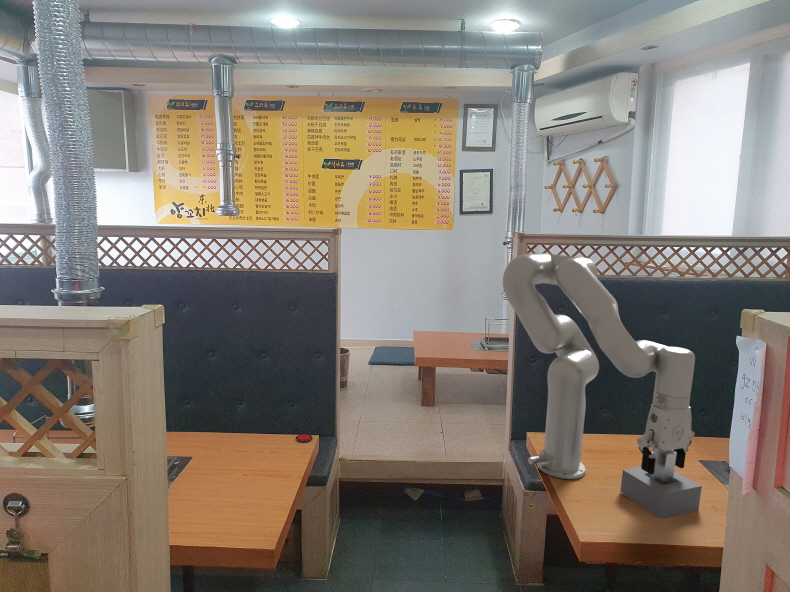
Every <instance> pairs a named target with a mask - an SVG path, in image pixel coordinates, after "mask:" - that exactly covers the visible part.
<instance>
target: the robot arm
mask: <svg viewBox="0 0 790 592" xmlns="http://www.w3.org/2000/svg"><path fill="white" fill-rule="evenodd" d="M598 271H599V270H598V267H597V266H596V264H595V263H594V261H592V260H591V259H589V258H587V257H583V256H572V255H571V256H570V255H562V254H553V253H542V252H541V253H540V252H537V253H524V254H520V255H518V256H516V257H514V258H513V259H512V260H511V261H509V263H508V264H507V266H506V268H505V270H504V272H503V276H502V288H503V292H504V295H505V297H506V299H507V301H508V302H509V304H510V306H511V307H512V309H513V310H514V312H515V314H516V315H517V317H518V319H519V321H520V322H521V325H522V326H523V328H524V329H525V331H526V332H527V334H528V336H529V338H530V340H531V341H532V344H533V346H534V347H535V348H536V349H537V350H538V351H539V352H540V353H543V354H553V353H555V354H556V356H557V357H555V359H553V361H552V362H551V363H550V365H549V367H548V368H547V369H548V371H547V405H546V406H547V407H546V408H547V409H546V419H545V420H546V421H545V429H544V430H545V432H544V440H543V441H544V442H543V449H541V450H540V451H539V454H538V455H533V456H529V457H528V458H527V462H528V463H529V465H535V464H536V466H537V468H538V469H539V470H540V471H541V472H542V473H544V474H546V475H549V476H551V477H554V478H558V479H564V480H565V479H566V480H574V479H579V478H580V479H581V478H582V477H583V476H585V475H586V466H585V465H584V464H583V462H581V457H582V455H581V454H582V446H583V436H584V426H585V425H584V424H585V418H586V417H585V416H586V405H587V403H586V386H587V384H588V383H590V382H591V381H593V380H594V379H595V378H596V377H597V375H598V373H599V370H600V363H599V362H600V361H599V360H598V357H597V355H596V353H595V351H594V350H593V348H592V347H591V345H590V343H589V342H588V340H587V339H586V337H585V336H584V334H583V332H582V330H581V329H580V328H579V326H578V324H577V323H576V322H575V321H574V320H573V319H572V318H571V317H569V316H568V315H564V314H554V312H553V310H552V309H551V308H550V306H549V304H548V302H547V300H546V298H545V297H544V296H543V295H542V294H541V293H540V292H539V291H538V289H537V288H536V285H540V284H547V285H555V286H558V287H559V288H560V289H561V291H562V292H563V293H564V294H565V296H566V297H567V298H568V299H569V300H570V302H571V303H572V304H573V305H574V307H576V309H577V310H578V311H579V313H580V314H581V315H582V316H583V317H584V319H585V321H587V324H588V326H589V329H590V331H591V333H592V335H593V337H594V339H595V342H596V343H597V345H598V346H599V348H600V349H601V351H602V352H603V354H605V356H606V357H607V358H608V360H609V361H610V362H611V363H612V364H613V366H615V368H616V369H617V370H618V371H619V372H621V373H622V374H623V375H625V376H627V377H629V378H634V379H637V378H642V377H645V376H647V375H648V374H649V373H650V372H655V379H654V380H655V381H654V390H653V397H652V403H651V406H650V409H649V412H648V416H647V420H646V425H645V432H644V433H643V434H642V435H641V436H640V437H638V438H637V439H636V442H637V445H638V449H639V451H640V453H641V454H642V457H641V464H640V465H641V469H642V470H644V471H646V472H648V473H649V474H654V469H655V461H656V458H654V456H655V455H656V453H657V452H658V450H660V451H670V450H673V451H675V452H677V455H676V461H675V467H678V468H679V469H684V468H685V464H686V463H685V461H686V454H687V453H688V452H689V446H690V445H691V444H692V440H693V438H694V436H695V431H692V410H691V406H690V401H691V393H692V386H693V379H694V370H695V362H696V355H695V353H694V352H693V351H692V350H689V349H688V348H685V347H684V348H683V347H679V346H667V345H664V344H660V343H657V342H654V341H650V340H647V339H646V340H645V339H643V340H642V339H639V340H635V339H634V338H633V337H632V336H631V334H630V333H629V332H628V330H627V328H625V325H624V324H623V323H622V321H621V318H620V313H619V305H618V302H617V300H616V298H615V297H614V295H612V294H611V293H610V292H609V290H608V289H607V288H606V287H605V286H604V285H603V283H602V282H601V281H600V280H599V279H598V278H599V277H598V275H599V272H598ZM654 444H655V445H654ZM652 447H653V448H652ZM650 448H652V449H651V450H650Z"/></svg>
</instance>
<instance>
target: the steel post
mask: <svg viewBox="0 0 790 592" xmlns="http://www.w3.org/2000/svg"><path fill="white" fill-rule="evenodd" d="M676 455H677V452H675V451H673V450H670V451H660V450H658V452H657V453H656V455H655V456H654V458H656V461H655V469H654V474H650V478H651V479H653V480H655V481H657V482H658V483H660V484H662V485H665V484H670V483H672V482H673V475H674V471H675V467H676V466H675V461H676Z"/></svg>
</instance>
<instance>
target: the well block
mask: <svg viewBox="0 0 790 592" xmlns="http://www.w3.org/2000/svg"><path fill="white" fill-rule="evenodd" d="M620 483H621V485H620V491H619V492H622V493H623V494H624V495H623V494H622V493H621V494H622V495H623V496H625V495H626V496H627V498H628V497H629V498H628V499H630V500H631V499H632V500H631V501H633V502H634V501H635V502H634V503H635V504H637V503H638V505H639V506H640V505H641V506H640V507H642V508H644V509H645V510H647V511H648V512H650V513H651V514H653V515H654V516H655V517H658V518H659V519H660V520H662V519H666V518H670V517H674V516H679V515H682V514H687V513H690V512H691V513H692V512H694V511H696V512H697V511H699V509H700V503H701V494H702V487H703V486H702V485H701V484H699V483H697V482H695V481H694V480H691V479H690V478H688V477H687V476H684V475H682V474H681V473H679V472H677V471H675V470H674V475H673V482H672V483H670V484H665V485H662V484H660V483H658V482H657V481H655V480H653V479H651V478H650V474H649V473H648V472H646V471H644V470H642V469H641V466H636V467H631V468H626V469H625V468H624V469H622V475H621V482H620ZM626 496H625V497H626Z"/></svg>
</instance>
